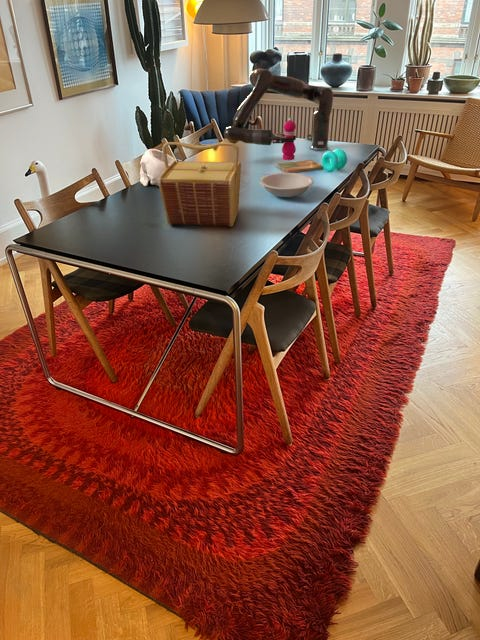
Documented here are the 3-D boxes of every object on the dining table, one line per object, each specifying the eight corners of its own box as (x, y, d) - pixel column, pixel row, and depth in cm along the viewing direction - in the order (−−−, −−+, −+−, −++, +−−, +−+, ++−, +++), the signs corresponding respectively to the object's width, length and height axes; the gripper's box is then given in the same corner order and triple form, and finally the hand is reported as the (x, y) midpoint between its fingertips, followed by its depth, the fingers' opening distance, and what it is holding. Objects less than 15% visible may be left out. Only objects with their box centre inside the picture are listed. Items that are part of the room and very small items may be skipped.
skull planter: (147, 173, 243) (156, 140, 229) (176, 196, 240) (187, 165, 226) (128, 180, 233) (137, 146, 220) (158, 205, 230) (169, 172, 217)
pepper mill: (296, 157, 252) (298, 116, 241) (294, 161, 246) (296, 119, 235) (282, 156, 253) (284, 116, 242) (280, 160, 248) (281, 118, 237)
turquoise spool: (319, 170, 248) (321, 150, 242) (332, 166, 253) (333, 146, 248) (334, 174, 241) (336, 153, 236) (347, 169, 247) (349, 150, 241)
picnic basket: (160, 230, 185) (151, 150, 168) (177, 207, 206) (170, 134, 190) (235, 233, 181) (233, 151, 165) (244, 209, 202) (243, 134, 186)
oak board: (277, 166, 255) (277, 163, 254) (311, 162, 260) (311, 159, 259) (287, 173, 244) (287, 170, 243) (323, 169, 248) (323, 166, 248)
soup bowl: (319, 189, 221) (320, 175, 218) (302, 206, 203) (303, 191, 199) (271, 184, 230) (271, 170, 226) (251, 199, 212) (250, 185, 208)
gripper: (258, 132, 240) (292, 134, 236) (265, 126, 251) (298, 128, 247) (258, 147, 244) (291, 150, 240) (265, 141, 256) (297, 143, 251)
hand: (294, 139), depth 244 cm, fingers closed on pepper mill, 4 cm apart
